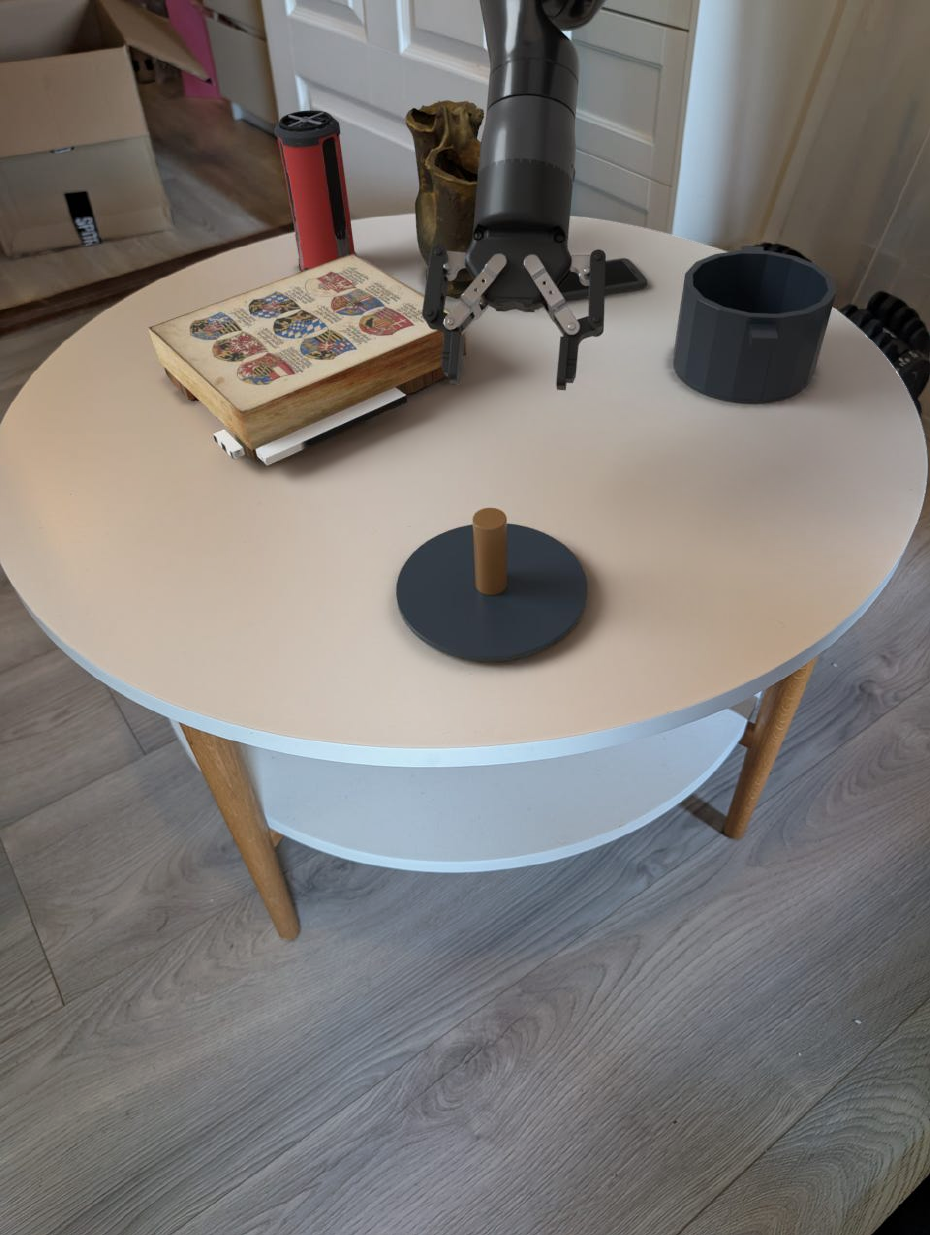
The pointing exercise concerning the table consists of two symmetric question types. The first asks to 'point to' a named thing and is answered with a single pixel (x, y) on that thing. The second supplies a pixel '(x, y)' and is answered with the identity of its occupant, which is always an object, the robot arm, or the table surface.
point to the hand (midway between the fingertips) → (507, 385)
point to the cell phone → (606, 280)
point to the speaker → (315, 186)
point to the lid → (491, 590)
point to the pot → (752, 325)
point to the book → (302, 356)
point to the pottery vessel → (446, 178)
